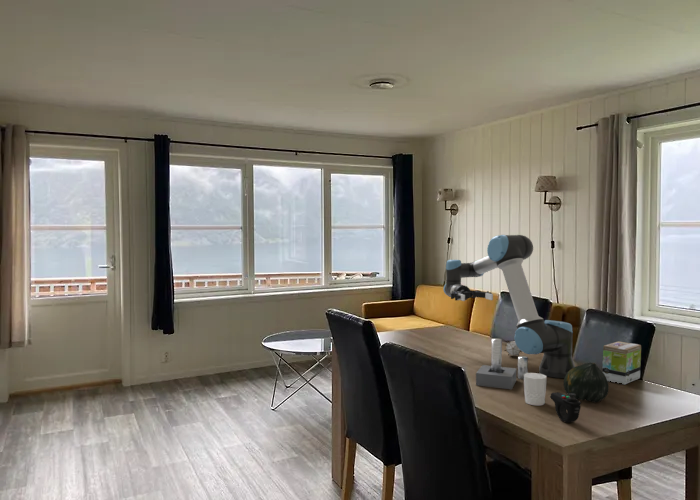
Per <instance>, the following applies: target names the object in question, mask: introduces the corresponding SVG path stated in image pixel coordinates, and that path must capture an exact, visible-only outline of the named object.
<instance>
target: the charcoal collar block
mask: <svg viewBox="0 0 700 500" xmlns="http://www.w3.org/2000/svg"><path fill="white" fill-rule="evenodd" d="M516 382H517V367H516V368H515V367H508V366H507V367H505V366H501V373H495V372H491V365H487V364H482V365H481V366H480V368H478V370H477V371H476V372H475V385H476V386H479V387H488V388H497V389H506V390H513V387H514V386H515V383H516Z"/></svg>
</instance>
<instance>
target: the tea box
mask: <svg viewBox="0 0 700 500" xmlns="http://www.w3.org/2000/svg"><path fill="white" fill-rule="evenodd" d="M602 350H603V351H602V368H601V369H602V370H601V371H602V372H603V373H604V375H605V376H606V379H607V382H610V381H611V382H612V383H615V382H617V383H616V384H619V383H622V384H621V385H627V384H629V383H631V382H634V381H636V380H638V379H640V378H641V361H642V345H641V344H638V343H632V342H631V343H630V342H624V341H615V342H610V343H608V344H605V345H603V349H602ZM611 382H610V383H611Z"/></svg>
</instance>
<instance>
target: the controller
mask: <svg viewBox="0 0 700 500" xmlns="http://www.w3.org/2000/svg"><path fill="white" fill-rule="evenodd" d="M569 395H570V396H569ZM569 395H567V394H564V393H562V392H551V393H550V396H549V398H550V399H551V401H553V403H554V409H555V413H556V415H557V417H558V418H559V419H560V420H561V421H562V422H564V423H574V422H576V421H577V420H578V419H579V416H580V411H581V404H582V402H581V401H580V400H579V399H576V398H575V397H574V396H576V394H574V393H569Z"/></svg>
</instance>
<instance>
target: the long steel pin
mask: <svg viewBox="0 0 700 500" xmlns="http://www.w3.org/2000/svg"><path fill="white" fill-rule="evenodd" d="M502 343H503V339H502V338H496V337H495V338H491V363H490V364H491V365H490V366H491V372H495V373H501V367H502V363H503V362H502V358H503V357H502V355H503V353H502V351H503V350H502V347H503V345H502Z"/></svg>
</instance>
